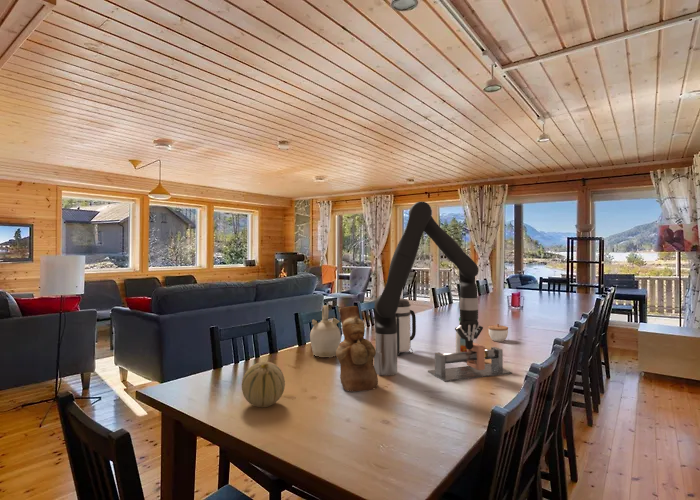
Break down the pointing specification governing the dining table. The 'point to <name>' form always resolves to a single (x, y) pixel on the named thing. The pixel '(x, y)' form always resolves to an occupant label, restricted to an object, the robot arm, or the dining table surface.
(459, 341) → the milk bottle
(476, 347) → the collar
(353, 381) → the ceramic vessel
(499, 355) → the rail
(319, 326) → the jug
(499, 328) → the lidded jar
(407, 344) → the coffee press
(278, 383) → the cantaloupe
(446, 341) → the dining table surface
